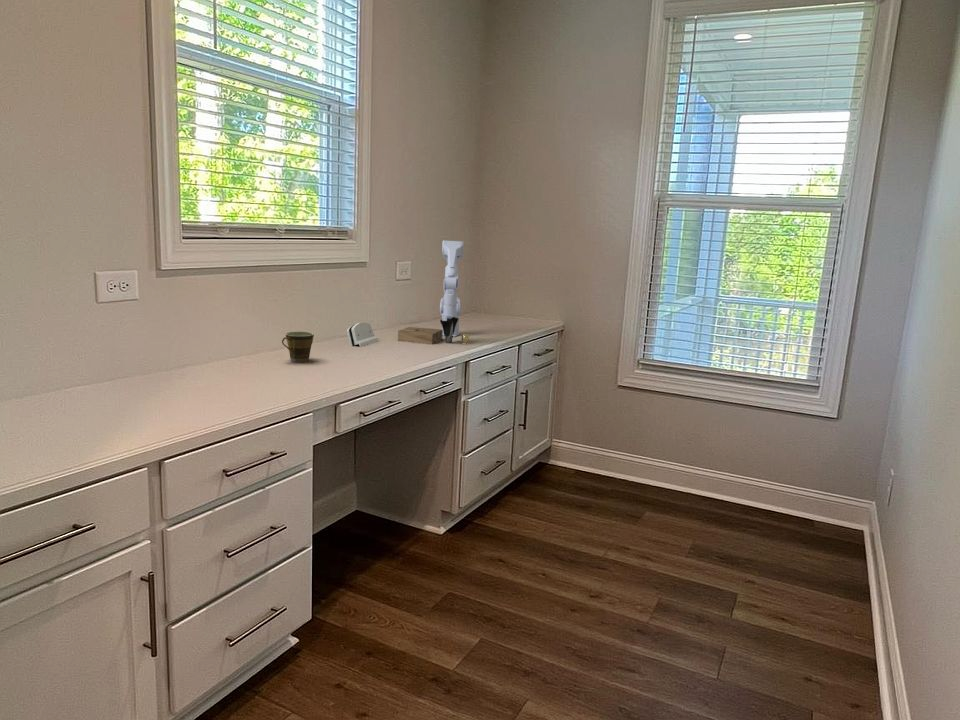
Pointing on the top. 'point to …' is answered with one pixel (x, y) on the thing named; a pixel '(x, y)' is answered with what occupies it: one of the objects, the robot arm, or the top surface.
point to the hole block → (420, 335)
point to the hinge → (361, 334)
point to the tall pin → (449, 338)
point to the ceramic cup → (299, 345)
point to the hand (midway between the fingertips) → (448, 335)
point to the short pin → (465, 338)
